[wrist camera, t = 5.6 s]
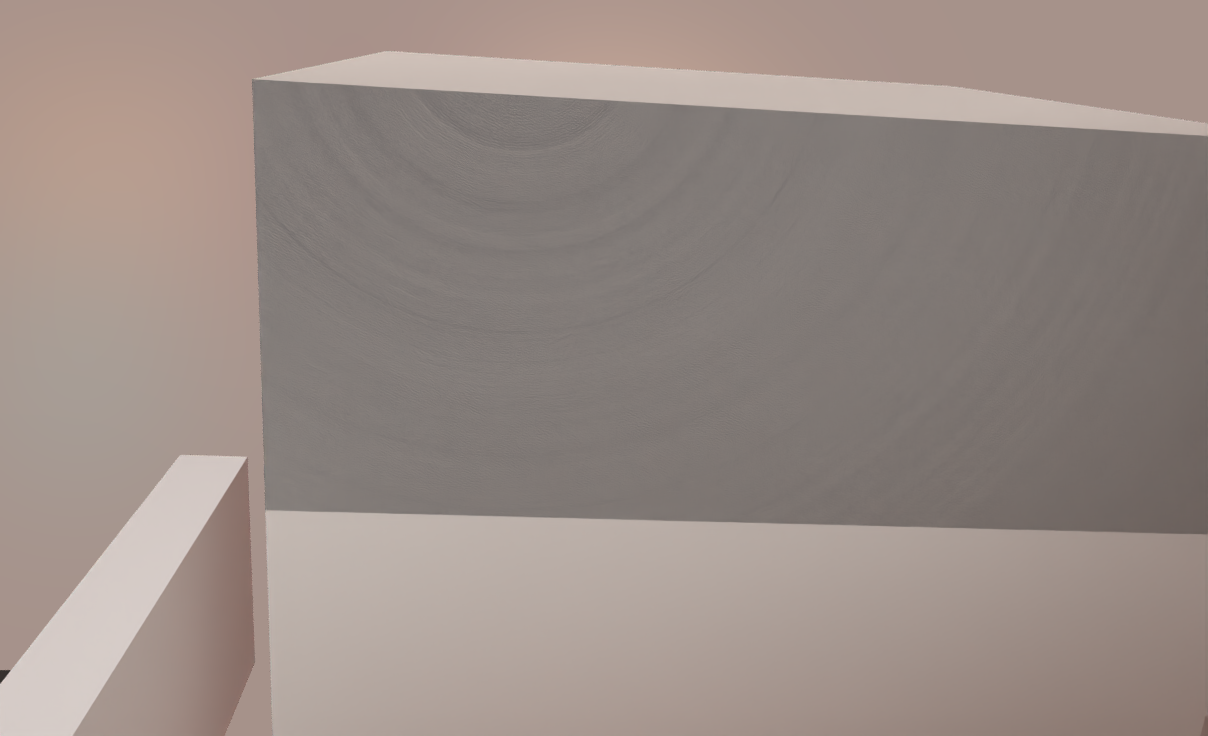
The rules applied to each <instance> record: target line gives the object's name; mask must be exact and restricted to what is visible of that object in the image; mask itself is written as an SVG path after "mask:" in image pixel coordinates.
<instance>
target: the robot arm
mask: <svg viewBox="0 0 1208 736" xmlns="http://www.w3.org/2000/svg"><path fill="white" fill-rule="evenodd" d="M253 625H254V624H253V596H252V568H251V540H250V512H249V485H248V457H235V456H202V455H180V456H179V457H178V459H177V460H176V461H175V462H174V464H173V465H172V466H171V467H170V469H169V470H168V471H167V473H166V474H165V475H164V476H163V478H162V479H161V480H160V481H159V483H158V484H157V485H156V487H155V488H154V489H153V490H152V492H151V493H150V494H149V496H148V497H147V498H146V499H145V501H144V502H143V503H142V505H141V506H140V507H139V508H138V509H137V511H136V512H135V513H134V515H133V516H132V517H131V519H130V520H129V521H128V522H127V523H126V525H125V526H124V528H123V529H122V530H121V531H120V532H119V534H118V535H117V536H116V537H115V539H114V540H113V541H112V543H111V544H110V545H109V546H108V548H107V549H106V550H105V552H104V553H103V554H102V555H101V557H100V558H99V559H98V560H97V562H96V563H95V564H94V566H93V567H92V568H91V569H90V571H89V572H88V573H87V574H86V576H85V577H84V578H83V579H82V581H81V582H80V583H79V585H78V586H77V587H76V588H75V590H74V591H73V592H72V593H71V595H70V596H69V597H68V599H67V600H66V601H65V602H64V604H63V605H62V606H61V608H60V609H59V610H58V611H57V613H56V614H55V615H54V617H53V618H52V619H51V620H50V622H49V623H48V624H47V625H46V627H45V628H44V629H43V630H42V632H41V633H40V634H39V635H38V637H37V638H36V639H35V641H34V642H33V643H32V644H31V646H30V647H29V648H28V649H27V651H26V652H25V653H24V655H23V656H22V657H21V658H20V660H19V661H18V662H17V663H16V665H15V666H14V668H13V669H12V670H0V736H225V733H226V731H227V728H228V726H229V724H230V721H231V719H232V716H233V714H234V711H235V709H236V707H237V704H238V702H239V699H240V697H241V694H242V692H243V690H244V687H245V685H246V682H247V680H248V678H249V675H250V673H251V670H252V668H253V666H254V663H255V652H254V626H253ZM1200 736H1208V708H1207V712H1206V716H1205V720H1204V724H1203V728H1202V731H1201V735H1200Z"/></svg>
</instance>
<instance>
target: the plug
mask: <svg viewBox="0 0 1208 736" xmlns="http://www.w3.org/2000/svg"><path fill="white" fill-rule="evenodd" d="M252 90H253V121H254V154H255V186H256V219H257V249H258V281H259V282H258V284H259V314H260V344H261V345H260V346H261V347H260V348H261V380H262V412H263V444H264V445H263V446H264V478H265V510H266V540H267V541H266V543H267V575H268V606H269V636H270V637H269V639H270V671H271V700H272V701H271V704H272V733H273V736H1200V735H1201V731H1202V728H1203V724H1204V720H1205V716H1206V712H1207V708H1208V123H1202V122H1195V121H1188V120H1181V119H1174V118H1167V117H1160V116H1153V115H1146V114H1140V113H1133V112H1126V111H1119V110H1112V109H1105V108H1098V107H1091V106H1085V105H1077V104H1071V103H1064V102H1057V101H1050V100H1043V99H1036V98H1029V97H1022V96H1016V95H1008V94H1001V93H995V92H988V91H980V90H974V89H967V88H960V87H954V86H941V85H925V84H908V83H892V82H877V81H876V82H875V81H861V80H845V79H828V78H812V77H796V76H780V75H764V74H748V73H732V72H716V71H699V70H683V69H668V68H652V67H635V66H620V65H603V64H587V63H570V62H553V61H539V60H523V59H507V58H491V57H474V56H459V55H443V54H426V53H410V52H393V51H385V52H380V53H375V54H371V55H366V56H361V57H357V58H352V59H346V60H342V61H337V62H332V63H327V64H323V65H318V66H313V67H309V68H304V69H299V70H294V71H289V72H284V73H279V74H275V75H270V76H265V77H260V78H255V79H252Z"/></svg>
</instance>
